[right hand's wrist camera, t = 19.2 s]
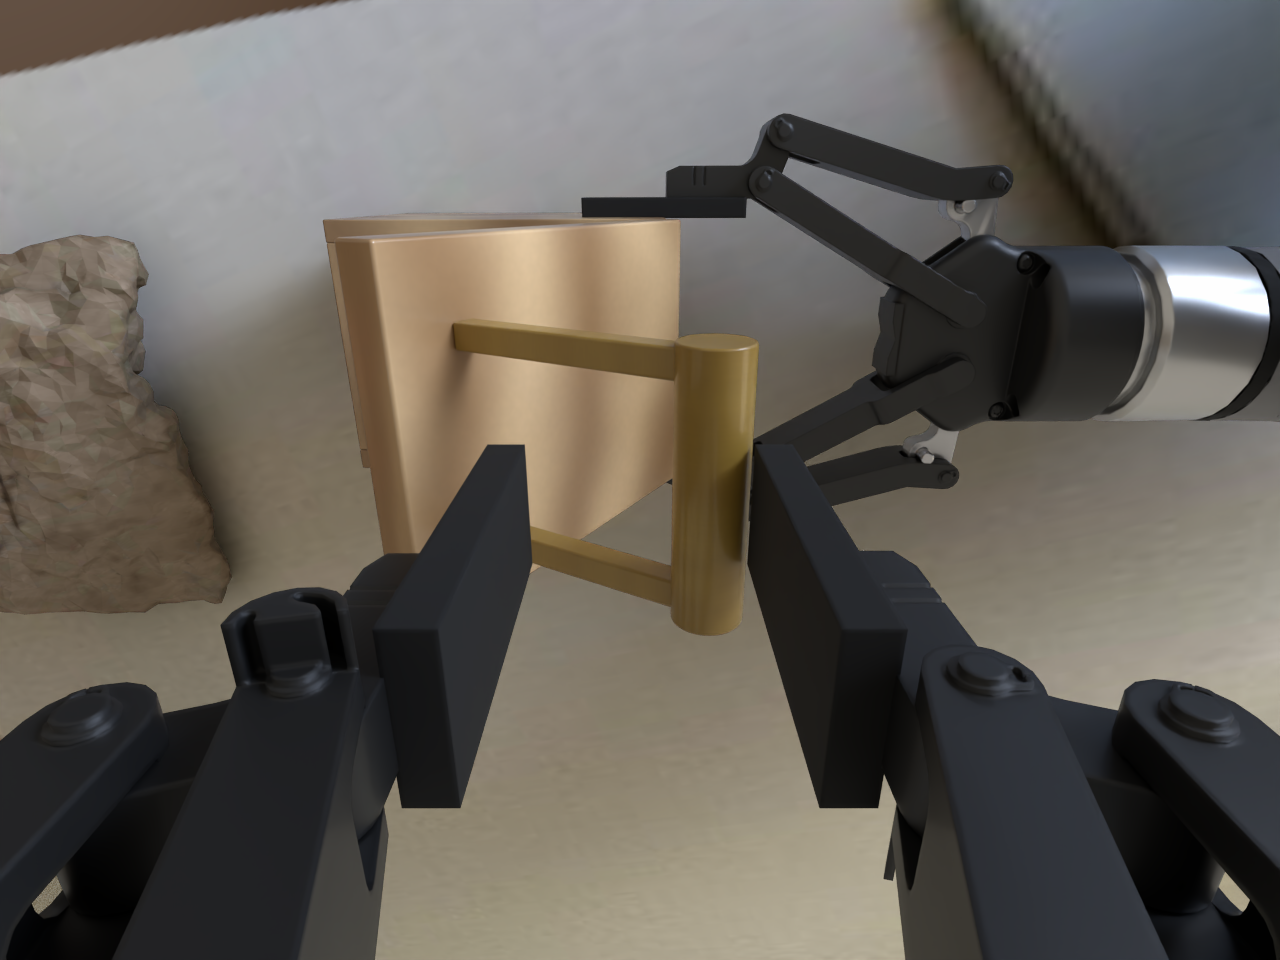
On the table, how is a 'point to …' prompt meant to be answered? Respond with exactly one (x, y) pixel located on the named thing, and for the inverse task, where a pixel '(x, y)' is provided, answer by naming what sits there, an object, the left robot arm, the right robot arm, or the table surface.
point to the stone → (91, 444)
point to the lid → (557, 397)
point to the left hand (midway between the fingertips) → (588, 336)
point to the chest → (419, 225)
